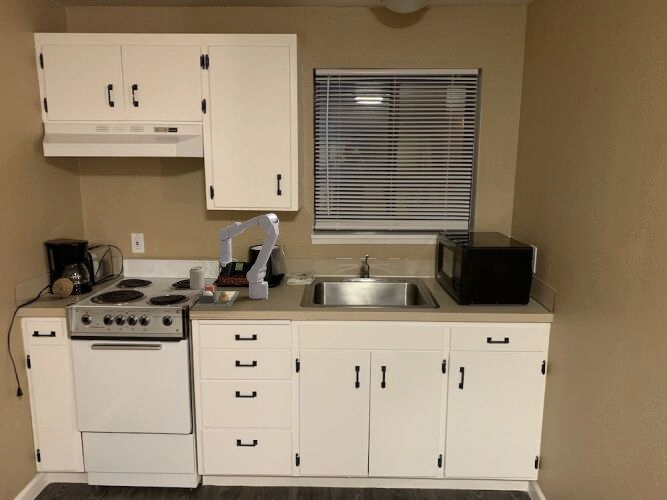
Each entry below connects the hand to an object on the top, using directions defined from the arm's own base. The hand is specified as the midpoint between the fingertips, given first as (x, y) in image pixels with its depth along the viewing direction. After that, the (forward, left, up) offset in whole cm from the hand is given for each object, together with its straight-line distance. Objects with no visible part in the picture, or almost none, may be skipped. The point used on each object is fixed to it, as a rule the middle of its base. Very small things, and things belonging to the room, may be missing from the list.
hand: (226, 277), depth 240 cm
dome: (+6, +14, -8) cm, 18 cm away
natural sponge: (+79, +7, -10) cm, 80 cm away
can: (+18, -12, -10) cm, 24 cm away
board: (+2, +9, -9) cm, 13 cm away
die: (+8, +1, -8) cm, 12 cm away
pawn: (-1, +16, -8) cm, 18 cm away
